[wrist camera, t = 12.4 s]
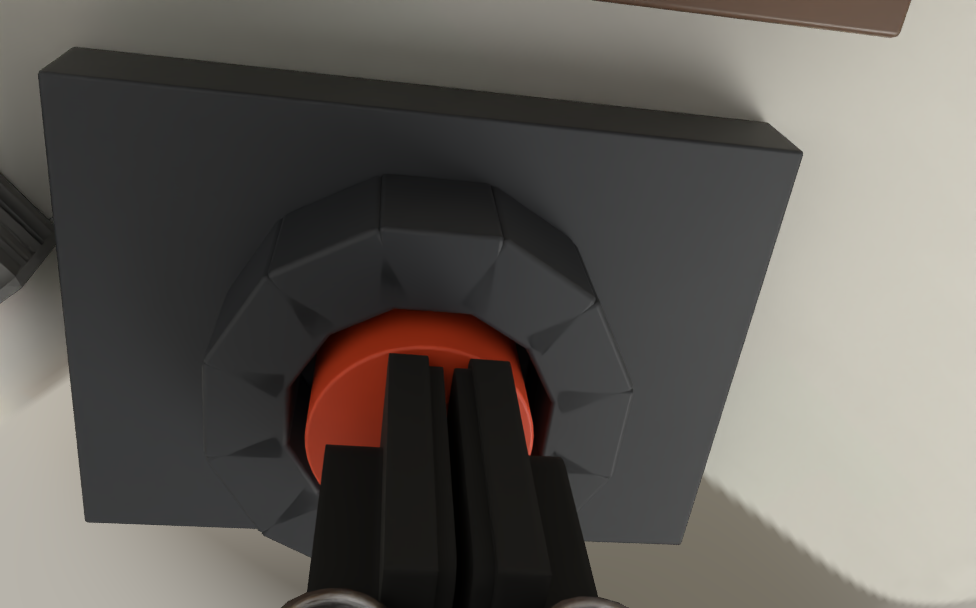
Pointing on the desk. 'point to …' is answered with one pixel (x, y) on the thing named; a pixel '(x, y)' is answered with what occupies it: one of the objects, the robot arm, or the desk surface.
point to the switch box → (391, 274)
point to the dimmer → (799, 12)
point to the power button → (363, 369)
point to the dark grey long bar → (21, 239)
